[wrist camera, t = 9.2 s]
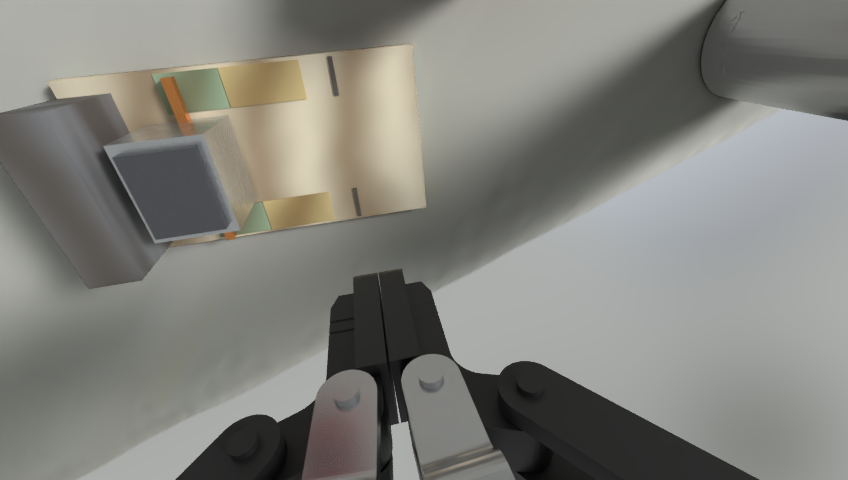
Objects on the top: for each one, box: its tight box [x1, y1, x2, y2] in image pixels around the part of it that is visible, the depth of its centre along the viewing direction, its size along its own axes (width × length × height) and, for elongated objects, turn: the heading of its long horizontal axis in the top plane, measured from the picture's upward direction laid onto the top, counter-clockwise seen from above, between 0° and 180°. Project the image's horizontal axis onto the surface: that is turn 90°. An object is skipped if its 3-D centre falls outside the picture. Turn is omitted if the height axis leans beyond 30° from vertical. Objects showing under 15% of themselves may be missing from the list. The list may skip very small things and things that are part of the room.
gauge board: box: [0, 44, 426, 289], centre depth 24 cm, size 22×12×7 cm, turn 95°
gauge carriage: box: [103, 76, 257, 243], centre depth 23 cm, size 5×11×6 cm, turn 5°
